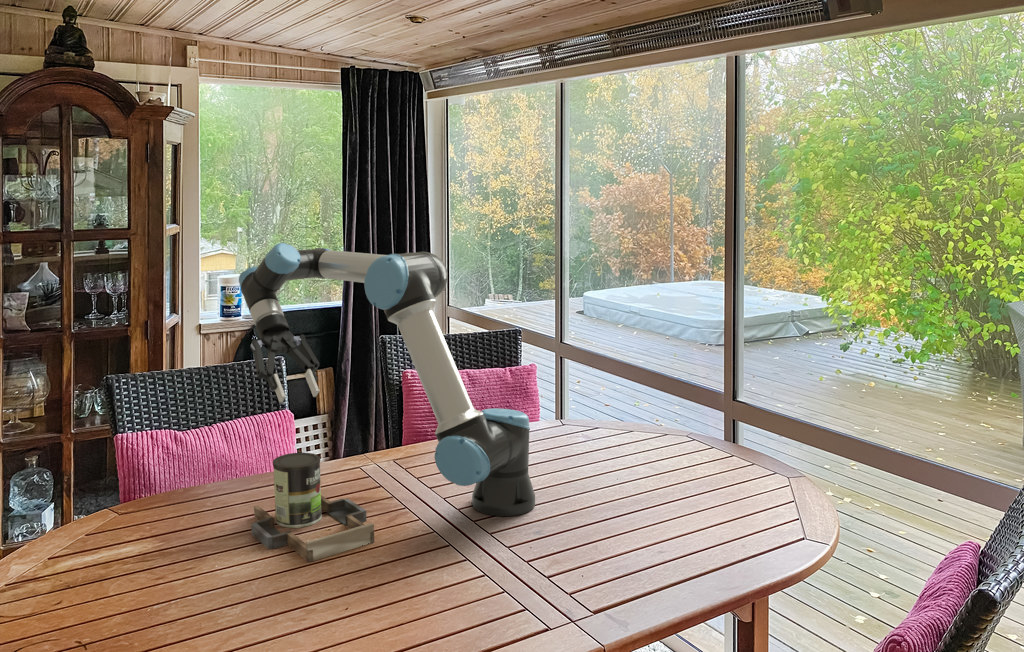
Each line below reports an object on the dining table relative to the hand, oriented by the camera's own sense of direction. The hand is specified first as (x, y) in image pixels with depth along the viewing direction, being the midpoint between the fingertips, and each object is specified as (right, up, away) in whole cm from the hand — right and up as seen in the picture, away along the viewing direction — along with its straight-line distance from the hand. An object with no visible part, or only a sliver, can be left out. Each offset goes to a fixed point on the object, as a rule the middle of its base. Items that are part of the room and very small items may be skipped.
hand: (299, 396), depth 187 cm
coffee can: (+2, -27, -10) cm, 29 cm away
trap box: (+6, -28, -15) cm, 32 cm away
